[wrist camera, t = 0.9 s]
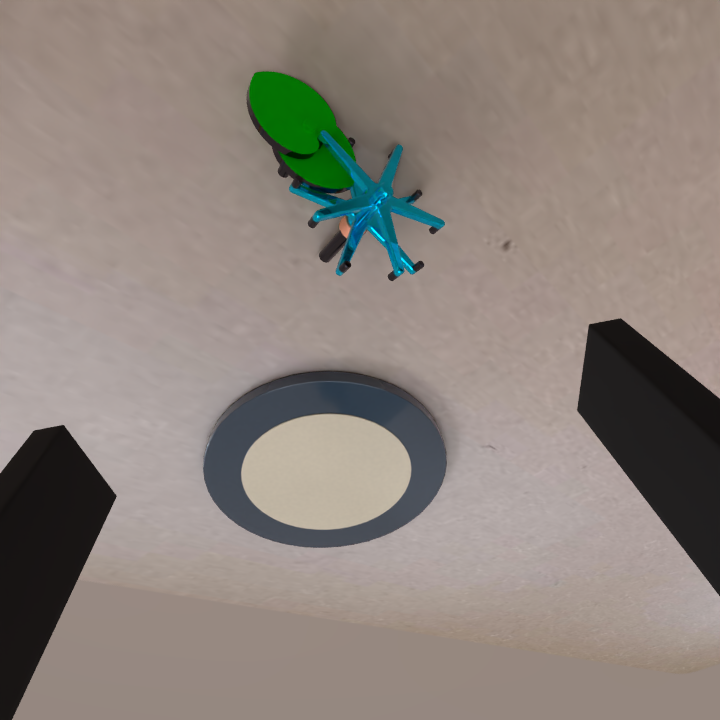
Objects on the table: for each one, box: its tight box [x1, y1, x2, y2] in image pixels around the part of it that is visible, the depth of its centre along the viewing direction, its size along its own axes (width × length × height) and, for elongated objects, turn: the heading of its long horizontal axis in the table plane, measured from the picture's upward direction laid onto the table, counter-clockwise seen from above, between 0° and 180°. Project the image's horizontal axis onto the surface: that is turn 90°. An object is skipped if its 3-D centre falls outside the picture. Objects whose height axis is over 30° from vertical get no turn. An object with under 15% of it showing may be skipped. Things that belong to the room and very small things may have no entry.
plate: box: [203, 371, 447, 548], centre depth 37 cm, size 20×20×1 cm
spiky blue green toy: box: [247, 71, 445, 281], centre depth 23 cm, size 12×7×8 cm
